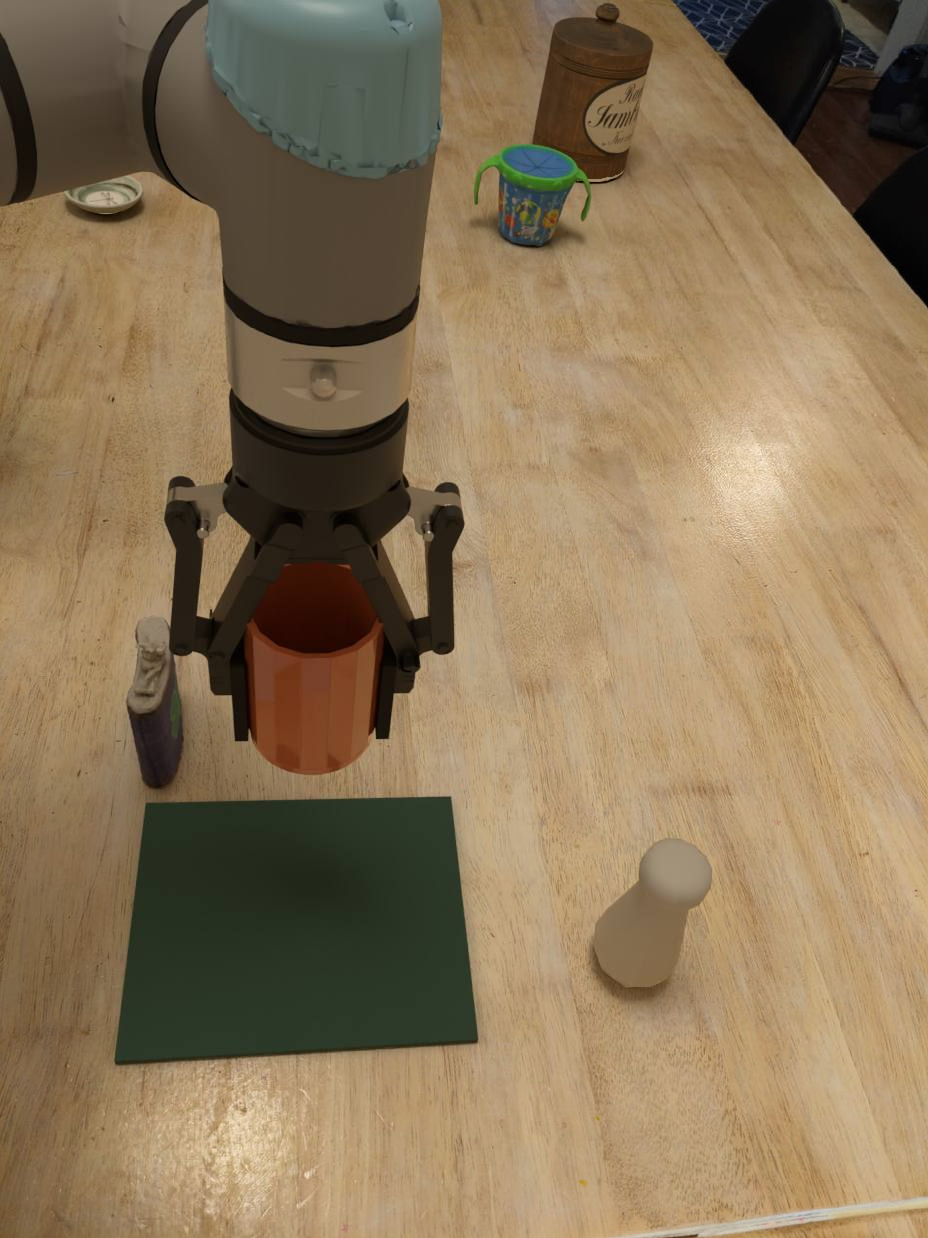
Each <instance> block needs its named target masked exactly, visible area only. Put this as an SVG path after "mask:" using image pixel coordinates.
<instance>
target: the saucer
mask: <svg viewBox="0 0 928 1238" xmlns="http://www.w3.org/2000/svg"><path fill="white" fill-rule="evenodd" d="M63 195H64V197H65V198H66V199H67V201H69V202H71V203H72V204H74V205H75V206H77V207H78V208H80V209H82V210H84V211H86V212H90V213H92V212H95V213H116V212H120V211H122V212H124V211H127V210H128V209H131V208H132V207H133V206H135V205H136V203H138V202H139V201H140V200H141V199H142V198H143V196H144V186H143V185H142V184H141V182H140V181H139V180H137V179H136V178H134V177H133V176H130V175H126V176H122V177H118V178H115V179H111V180H107V181H103V182H99V183H95V184H91V185H88V186H84V187H80V188H76V189H72V190H68V191H64V192H63ZM95 213H94V214H95ZM120 213H121V212H120Z"/></svg>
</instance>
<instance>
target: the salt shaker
mask: <svg viewBox="0 0 928 1238" xmlns="http://www.w3.org/2000/svg"><path fill="white" fill-rule="evenodd" d="M637 877H638V880H637V881H636V882H635V883H634V884H633V885H632V886H630V888H628V890H627V891H625V892H624V893H623V894H622V895H621V896H619V898H617V899H616V900H615V901H614V902H613V903H612V904H611V905H610V906H608V907H607V908H606V909H605V911H603V913H601V915H600V917H599V918H598V920H597V921H596V922H595V924H594V934H593V944H592V945H593V948H594V951H595V954H596V957H597V961H598V963H599V966H600V968H601V970H602V972H603V973H605V974H606V975H607V976H608V977H610V978H611V979H613V980H614V981H615V982H616V983H618V984H619V985H621V986H622V987H623V988H624V989H628V988H652V987H654V986H655V985H658V984H659V983H662V982H664V981H665V980H667V979H668V978H670V976H671V975H672V973H673V972H674V970H675V968H676V967H677V965H678V964H679V961H680V958H681V957H680V956H681V952H682V951H681V950H682V947H683V946H682V945H683V940H684V937H685V932H686V925H687V921H688V916H689V911H690V910H692V909H694V908H697V907H700V905H701V904H702V902H703V901H704V900H705V898H706V896H707V895H708V893H709V891H711V887H712V884H713V867H712V866H711V863H710V862H709V860H708V857H707V855H706V854H705V853H703V851H702V850H701V849H700V848H699V847H697V846H696V845H695V844H694V843H692V842H689V841H687V840H685V839H682V838H675V837H673V838H672V837H665V838H663V839H661V840H658V841H656V842H654V843H652V844H651V845H650V846H649V847H648V848H647V850H646V851H645V852H644V854H643V855H642V856H641V858H640V861H639V864H638V876H637Z"/></svg>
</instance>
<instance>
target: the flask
mask: <svg viewBox="0 0 928 1238" xmlns="http://www.w3.org/2000/svg"><path fill="white" fill-rule="evenodd" d="M134 632H135V634H134V637H135V641H136V642H135V643H136V644H135V648H136V649H137V653H136V663H135V672H134V676H133V680H132V683H131V686H130V688H129V690H128V692H127V696H126V699H125V703H126V710H127V713H128V719H129V723H130V728H131V731H132V736H133V743H134V747H135V752H136V755H137V760H138V764H139V769H140V775H141V777H140V779H141V781H142V782H143V784H145V786H147V787H148V790H151V789H155V790H157V789H160V790H161V789H164V788H166V787H169V786H170V785H171V784H172V782H173V781H174V780H175V777H176V776H177V774H178V771H179V766H180V762H181V760H182V754H183V749H184V746H183V745H184V733H183V731H184V730H183V729H184V727H183V710H182V701H181V697H180V691H179V684H178V676H177V670H176V661H175V655H174V654H172V653H171V652H170V651H169V638H170V624H169V622H168V621H167V620H166V619H165V618H163V617H160V616H156V615H150V616H147V617H144V618H142V619H140V620H138V621H137V623H136V626H135V629H134Z"/></svg>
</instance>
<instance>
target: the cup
mask: <svg viewBox="0 0 928 1238" xmlns="http://www.w3.org/2000/svg"><path fill="white" fill-rule="evenodd" d="M384 636H385V632H384V630H383V623H380V622H379V619H378V617H377V615H376V613H375V611H374V609H373V607H372V605H371V603H370V601H369V599H368V597H367V595H366V592H365V590H364V588H363V586H362V584H358V582H357V580H356V578H355V576H354V574H353V572H352V570H351V568H350V566H349V565H332V564H327V563H322V562H311V563H305V564H285V566H284V567H283V569H282V571H281V573H280V575H279V577H278V578H277V580H276V582H275V583H271V584H270V586H269V588H268V590H267V591H266V593H265V595H264V597H263V599H262V601H261V602H260V604H259V606H258V608H257V610H256V612H255V613H254V615H253V617H252V619H251V621H250V623H247V628H246V630H245V632H244V651H245V667H246V687H247V707H248V727H249V735H250V738H251V741H252V743H253V745H254V747H255V749H256V750H257V752H258V753H259V755H260V756H262V757H263V758H264V759H265V760H266V761H267V762H269V764H271V765H273V766H275V767H276V768H279V769H281V770H283V771H286V772H287V773H291V774H292V773H293V774H295V775H296V774H297V775H303V776H319V775H326V774H332V773H335V772H337V771H340V770H343V769H344V768H347V767H349V766H350V765H352V764H353V763H354V762H356V761H357V760H358V759H360V758H361V756H362V755H363V754H364V753H365V752H366V751H367V749H368V748H369V746H370V744H371V742H372V740H373V736H374V734H375V726H376V716H377V706H378V696H379V686H380V675H381V665H382V656H383V646H384Z"/></svg>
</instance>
